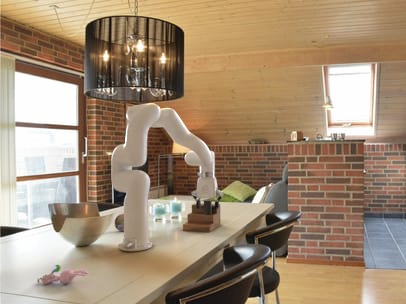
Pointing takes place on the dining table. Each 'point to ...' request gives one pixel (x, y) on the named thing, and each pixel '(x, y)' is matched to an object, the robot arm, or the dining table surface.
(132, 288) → the dining table surface
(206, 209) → the cylinder
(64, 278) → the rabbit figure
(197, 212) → the step rack
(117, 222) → the tin
